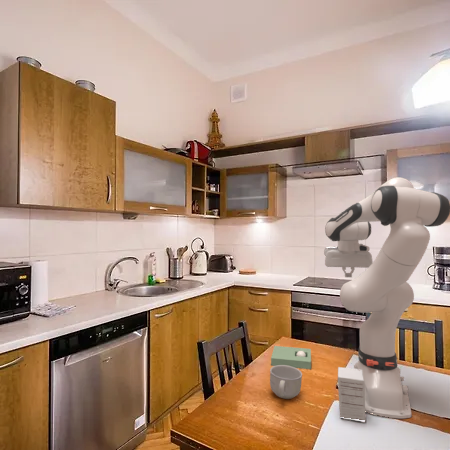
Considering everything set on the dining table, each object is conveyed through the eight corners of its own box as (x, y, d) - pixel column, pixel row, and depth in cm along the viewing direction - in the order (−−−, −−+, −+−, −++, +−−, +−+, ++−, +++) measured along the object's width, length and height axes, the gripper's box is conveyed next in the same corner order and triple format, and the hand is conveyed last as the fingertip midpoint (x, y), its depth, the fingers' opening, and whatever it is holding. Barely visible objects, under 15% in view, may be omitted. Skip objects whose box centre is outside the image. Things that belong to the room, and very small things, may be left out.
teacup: (277, 383, 118) (276, 361, 118) (306, 391, 112) (306, 368, 112) (261, 401, 106) (261, 377, 106) (293, 411, 100) (292, 385, 100)
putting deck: (311, 369, 129) (311, 361, 129) (271, 365, 133) (271, 358, 133) (310, 355, 142) (310, 348, 142) (274, 352, 146) (274, 345, 146)
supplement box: (339, 405, 103) (337, 366, 103) (364, 409, 100) (363, 369, 100) (339, 419, 96) (337, 376, 96) (366, 423, 93) (364, 380, 93)
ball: (306, 353, 134) (296, 352, 135) (305, 363, 134) (295, 361, 135) (306, 350, 138) (297, 348, 139) (305, 359, 138) (296, 357, 139)
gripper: (324, 247, 146) (324, 277, 146) (373, 247, 141) (373, 278, 141) (323, 246, 152) (324, 275, 152) (370, 246, 147) (370, 276, 147)
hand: (348, 277), depth 146 cm, fingers closed
